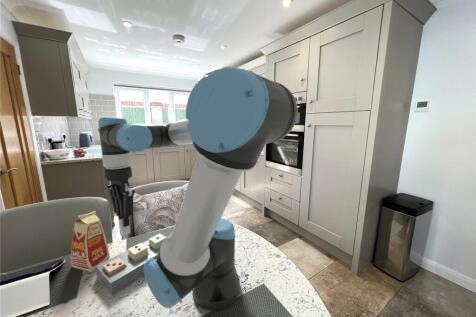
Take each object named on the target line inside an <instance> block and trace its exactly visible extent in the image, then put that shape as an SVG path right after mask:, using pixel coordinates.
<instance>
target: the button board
mask: <svg viewBox="0 0 476 317" xmlns="http://www.w3.org/2000/svg"><path fill="white" fill-rule="evenodd" d="M141 243H142V244H143V245H145V246H146V247H148V255H147V256H145V257H143V258H142V259H140V260H138V261H136V262H134V261H133V260H132V259H131V258H130V257H129V256H128V249H127V250H125V251H123V252H121V253H119V254H116V255H115V256H113V257H111V258H109V259H106V260H105V261H104V262H103V263H101V264H99V265H97V266H96V268H95V271H96V273H95V274H96V278H97V280H98V281H99V282H100V283H101V284H102V286H104V288H105V289H106V290H107V291H108V293H109V294H111V296H112V297H113V296H115V295H117V293H119V292H121V291H122V290H125V289H126V288H127V287H129V286H131V285H132V284H134V283H135V282H136V281H138V280H139V279H141V278H143V277H145V275H144V264H145V262H146V261H147V260H149V259H150V258H151V257H154V256H156V255H157V254H158V253H159V250H160V248H159V249H158V250H155V249H154V248H152V247H151V246H149V239H147V240H146V241H143V242H141ZM117 258H120V259H121V260H122V261H123V262H124V263H125V266H126V268H124V269H122V270H120V271H118V272H117V273H115V274H113V275H111V276H110V277H109V276H108V275H107V274H106V273H105V272H104V268H103V265H105V264H107V263H109V262H111V261H113V260H115V259H117Z"/></svg>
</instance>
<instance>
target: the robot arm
mask: <svg viewBox="0 0 476 317" xmlns="http://www.w3.org/2000/svg"><path fill="white" fill-rule="evenodd" d="M298 108H299V107H298V103H297V101H296V98H295V96H294V94H293V93H292V91H291V90H290V89H289V88H288V87H287V86H285V85H283V84H282V83H281V82H277V81H273V80H272V79H270V78H266V77H264V76H262V75H259V74H257V73H255V72H254V71H252V70H248V69H245V68H240V67H235V66H227V65H225V66H223V65H222V66H218V67H216V68H213V69H211V70H210V71H209V72H207V73H204V74H203V75H202V76H201V77H200V78H199V79H198V80H197V81H196V83H195V84H194V86H193V87H192V89H191V91H190V92H189V95H188V99H187V102H186V107H185V119H181V120H177V121H173V122H169V123H132V122H131V123H130V122H129V123H128V122H127V120H126V118H124V117H109V116H108V117H100V118H99V119H98V120H97V121H98V126H97V127H98V128H97V131H98V134H99V142H100V149H101V158H102V160H101V161H102V166H103V167H104V169H103V173H104V179H105V181H107V182H110V184H108V185H106V188H107V190H108V192H109V193H108V194H109V197H110V202H111V206H112V209H113V214H116V217H118V218H117V219H118V227H119V228H118V229H119V235H120V236H121V237H124V236H127V235H130V234H131V223H130V216H133V215H134V214H133V213H134V196H135V192H136V191H135V189H133V188H132V189H131V188H130V182H129V179H131V178H132V176H133V170H132V166H130V165H131V162H132V161H131V157H132V155H131V153H132V152H133V153H135V152H143V151H145V150H150V149H151V150H152V149H158V148H159V149H160V148H167V147H168V148H169V147H180V146H185V145H190V144H191V145H192V147H193V149H194V151H195V152H196V154H197V156H196V160H195V163H194V166H193V168H192V172H191V174H190V178H189V181H188V184H187V187H186V190H185V193H184V197H183V199H182V203H181V206H180V207H179V208H180V209H179V211H178V214H177V218H176V219H175V223H174V226H173V230H172V232H171V233H169V234H168V235H167V236H165V237H166V238H165V239H164V241H163V242H162V244H161V247H160V250H159V253H158V254H157V255H156V256H154V257H151V258H150V259H149V260H147V261H146V262H145V264H144V278H145V281H146V284H147V286H148V288H149V290H150V292H151V294H152V296H153V297H154V298H155V301H157V302H158V304H160V305H161V306H162V307H163V308H166V309H171V308H173V307H174V306H176V305H177V304H178V303H180V302H181V301H182V300H183V299H185V297H186V296H188V294H190V293H192V298H193V300H194V302H195V304H197V305H198V306H199V307H200V308H202V309H204V310H206V311H207V310H208V311H221V310H223V309H226V308H229V307H230V306H231V305H232V304H233V303H235V302H236V301H237V299H238V297H239V295H240V291H241V280H240V276H239V275H238V272H237V269H236V266H235V264H236V261H235V257H236V249H235V248H236V246H235V244H236V234H235V232H236V231H235V226H234V224H233V223H232V222H231V221H229V220H227V219H226V218H222V217H223V216H224V212H225V211H226V209H227V206H228V204H229V202H230V199H231V198H232V195H233V193H234V192H235V189H236V187H237V185H238V183H239V180H240V178H241V176H242V175H243V174H242V173H244V172H247V171H251V170H253V169H254V167H256V165H257V163H258V160H259V158H260V156H261V155H262V152H263V150H264V148H265V146H266V144H267V145H268V144H271V143H275V142H278V141H280V140H282V139H284V138H285V137H286V136H288V135H289V133H291V132H292V130H293V129H294V127H295V125H296V123H297V120H298V119H297V118H298V112H299V110H298Z"/></svg>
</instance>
